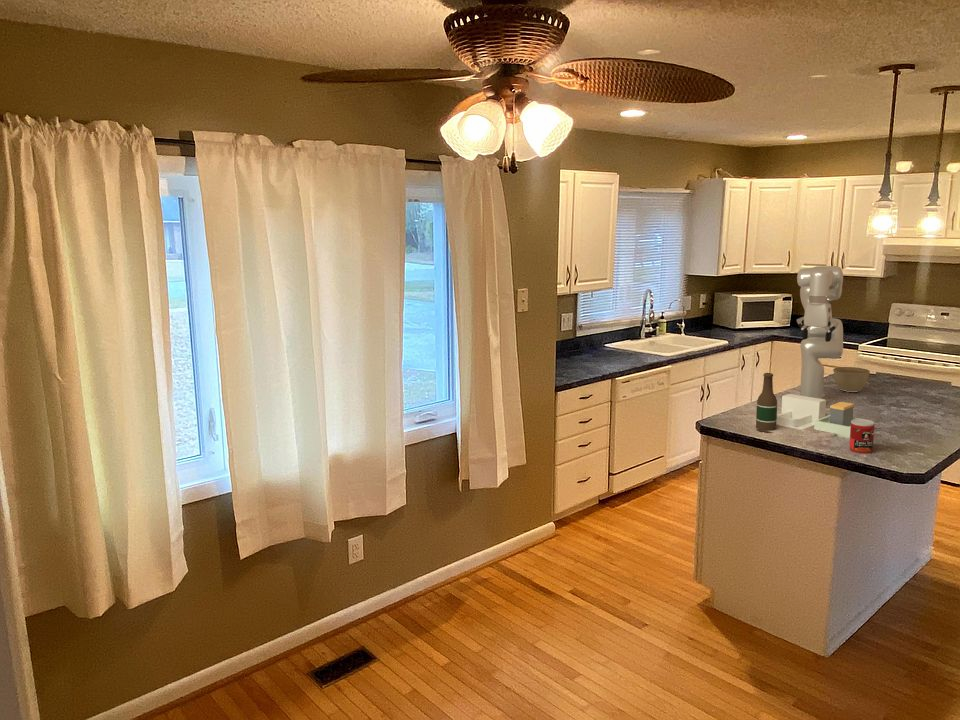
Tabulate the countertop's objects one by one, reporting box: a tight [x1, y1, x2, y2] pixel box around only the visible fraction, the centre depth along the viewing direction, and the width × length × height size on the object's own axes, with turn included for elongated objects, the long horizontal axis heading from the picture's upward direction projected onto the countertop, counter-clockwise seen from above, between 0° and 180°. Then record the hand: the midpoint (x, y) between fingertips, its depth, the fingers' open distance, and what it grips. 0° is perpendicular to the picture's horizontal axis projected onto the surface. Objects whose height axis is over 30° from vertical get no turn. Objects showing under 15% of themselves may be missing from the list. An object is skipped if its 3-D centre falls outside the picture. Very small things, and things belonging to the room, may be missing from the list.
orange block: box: [829, 401, 855, 426], centre depth 277 cm, size 9×5×10 cm, turn 129°
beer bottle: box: [755, 372, 778, 434], centre depth 280 cm, size 8×8×24 cm
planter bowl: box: [832, 366, 871, 391], centre depth 344 cm, size 16×16×11 cm
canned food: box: [848, 418, 876, 454], centre depth 252 cm, size 8×8×11 cm
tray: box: [813, 414, 861, 440], centre depth 277 cm, size 16×14×4 cm
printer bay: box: [776, 393, 827, 431], centre depth 290 cm, size 20×16×10 cm
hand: (816, 340), depth 292 cm, fingers open, 9 cm apart
